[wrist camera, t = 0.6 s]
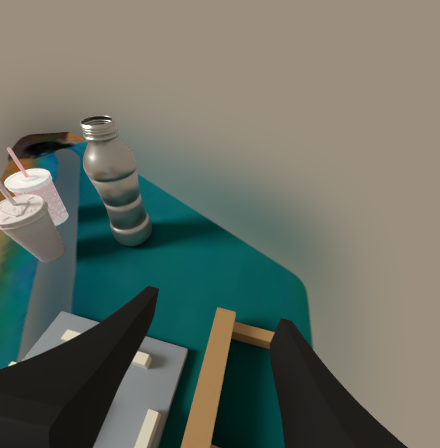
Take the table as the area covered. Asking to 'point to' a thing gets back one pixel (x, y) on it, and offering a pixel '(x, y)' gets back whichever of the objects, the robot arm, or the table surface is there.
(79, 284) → the table surface
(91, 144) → the plastic bottle
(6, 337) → the table surface
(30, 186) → the beverage cup
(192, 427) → the wooden c-shaped bracket
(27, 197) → the smoothie
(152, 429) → the stand
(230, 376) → the table surface
